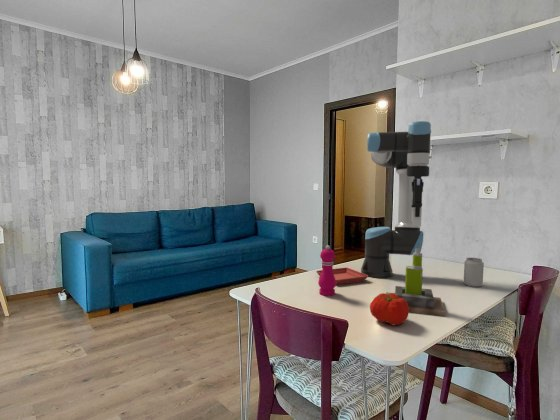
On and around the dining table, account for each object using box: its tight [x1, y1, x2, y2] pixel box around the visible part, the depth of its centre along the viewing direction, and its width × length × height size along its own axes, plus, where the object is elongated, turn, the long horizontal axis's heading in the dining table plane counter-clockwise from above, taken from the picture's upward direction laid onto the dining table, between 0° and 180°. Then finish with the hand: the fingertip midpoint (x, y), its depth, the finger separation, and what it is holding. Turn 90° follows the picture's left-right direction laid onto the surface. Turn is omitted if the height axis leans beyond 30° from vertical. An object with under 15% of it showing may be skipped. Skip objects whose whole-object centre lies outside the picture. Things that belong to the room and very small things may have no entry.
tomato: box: [369, 292, 410, 326], centre depth 118 cm, size 13×12×8 cm
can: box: [463, 257, 485, 288], centre depth 160 cm, size 8×8×12 cm
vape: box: [404, 248, 424, 295], centre depth 133 cm, size 4×6×20 cm, turn 44°
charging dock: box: [385, 285, 446, 317], centre depth 133 cm, size 20×16×5 cm
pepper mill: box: [317, 244, 337, 297], centre depth 146 cm, size 7×7×20 cm
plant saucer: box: [315, 267, 368, 286], centre depth 169 cm, size 18×18×3 cm
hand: (416, 224), depth 131 cm, fingers open, 13 cm apart
